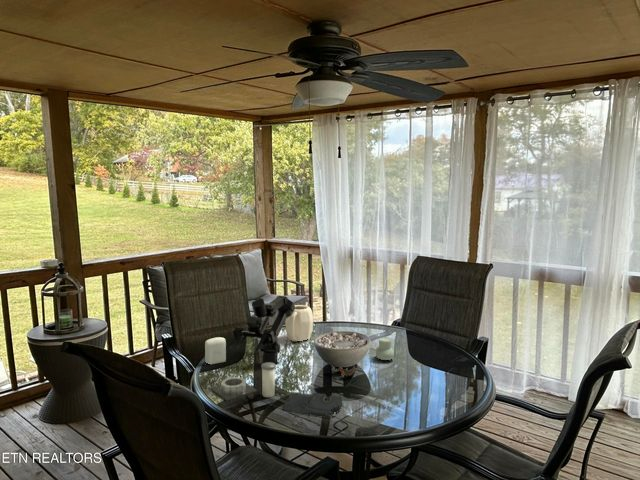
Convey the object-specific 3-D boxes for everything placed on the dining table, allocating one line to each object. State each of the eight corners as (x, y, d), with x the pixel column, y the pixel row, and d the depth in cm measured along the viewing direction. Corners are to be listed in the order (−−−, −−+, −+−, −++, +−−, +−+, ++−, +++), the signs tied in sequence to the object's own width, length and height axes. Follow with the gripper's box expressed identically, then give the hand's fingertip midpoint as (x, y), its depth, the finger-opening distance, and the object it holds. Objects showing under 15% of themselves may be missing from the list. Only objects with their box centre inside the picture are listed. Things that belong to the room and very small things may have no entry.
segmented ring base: (240, 380, 195) (239, 373, 194) (257, 391, 184) (257, 383, 184) (210, 389, 186) (210, 381, 186) (226, 401, 175) (226, 392, 175)
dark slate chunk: (294, 395, 182) (293, 384, 182) (345, 402, 175) (346, 391, 175) (279, 412, 167) (279, 399, 167) (335, 421, 161) (335, 408, 160)
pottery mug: (355, 371, 208) (358, 359, 203) (350, 387, 200) (354, 375, 196) (331, 363, 210) (333, 351, 205) (325, 378, 202) (328, 366, 198)
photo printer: (224, 359, 221) (223, 335, 220) (227, 361, 218) (226, 337, 217) (203, 363, 216) (203, 338, 215) (206, 366, 212) (206, 340, 211)
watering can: (319, 333, 266) (319, 302, 264) (305, 347, 240) (305, 313, 238) (295, 331, 270) (295, 300, 268) (278, 344, 245) (278, 310, 243)
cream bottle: (270, 390, 185) (270, 361, 184) (278, 395, 181) (278, 365, 180) (258, 394, 182) (258, 364, 180) (266, 399, 177) (266, 368, 176)
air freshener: (394, 363, 217) (394, 343, 217) (377, 362, 218) (378, 343, 217) (391, 355, 228) (391, 336, 227) (375, 355, 228) (375, 336, 228)
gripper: (237, 309, 201) (222, 333, 188) (275, 312, 196) (263, 337, 183) (242, 327, 207) (228, 352, 194) (280, 331, 201) (268, 356, 189)
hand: (246, 349), depth 190 cm, fingers open, 9 cm apart
